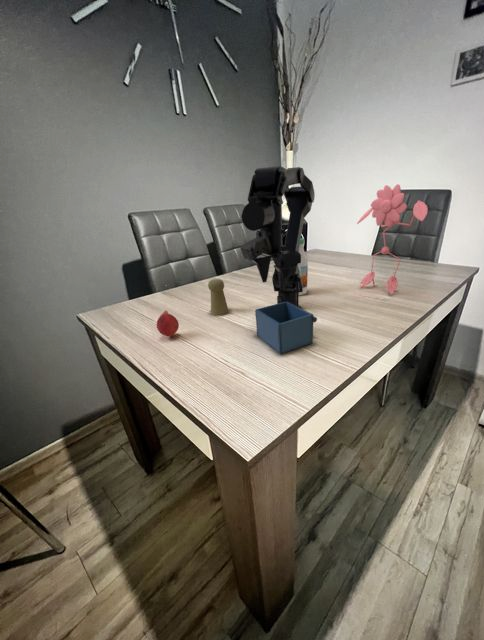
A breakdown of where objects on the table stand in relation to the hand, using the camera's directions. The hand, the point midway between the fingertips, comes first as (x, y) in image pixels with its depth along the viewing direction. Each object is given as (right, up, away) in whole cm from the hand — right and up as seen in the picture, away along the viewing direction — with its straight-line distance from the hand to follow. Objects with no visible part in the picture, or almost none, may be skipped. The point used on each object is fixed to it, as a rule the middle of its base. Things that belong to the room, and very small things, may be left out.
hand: (272, 285), depth 78 cm
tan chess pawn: (-18, -5, +16) cm, 25 cm away
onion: (-30, -15, +1) cm, 33 cm away
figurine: (+39, +3, +26) cm, 47 cm away
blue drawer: (+4, -15, -4) cm, 16 cm away
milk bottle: (+11, +4, +30) cm, 32 cm away
